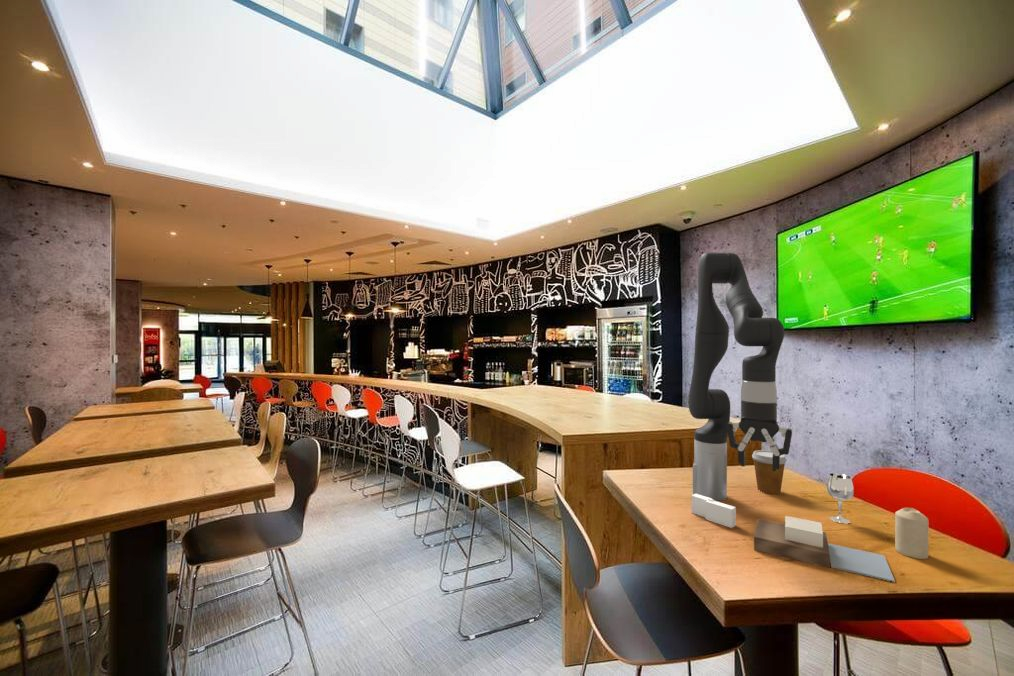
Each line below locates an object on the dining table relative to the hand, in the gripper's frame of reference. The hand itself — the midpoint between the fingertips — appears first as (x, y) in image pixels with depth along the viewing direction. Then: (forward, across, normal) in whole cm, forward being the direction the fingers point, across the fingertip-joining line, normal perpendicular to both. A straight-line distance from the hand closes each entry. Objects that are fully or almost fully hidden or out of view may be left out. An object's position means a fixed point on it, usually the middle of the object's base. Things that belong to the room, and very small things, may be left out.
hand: (758, 467), depth 103 cm
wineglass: (+18, +18, +26) cm, 36 cm away
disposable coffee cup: (+18, 0, +40) cm, 44 cm away
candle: (+18, +30, +12) cm, 37 cm away
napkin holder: (+18, -11, +8) cm, 23 cm away
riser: (+18, +6, 0) cm, 19 cm away
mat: (+18, +19, 0) cm, 26 cm away
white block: (+15, +9, 0) cm, 17 cm away
